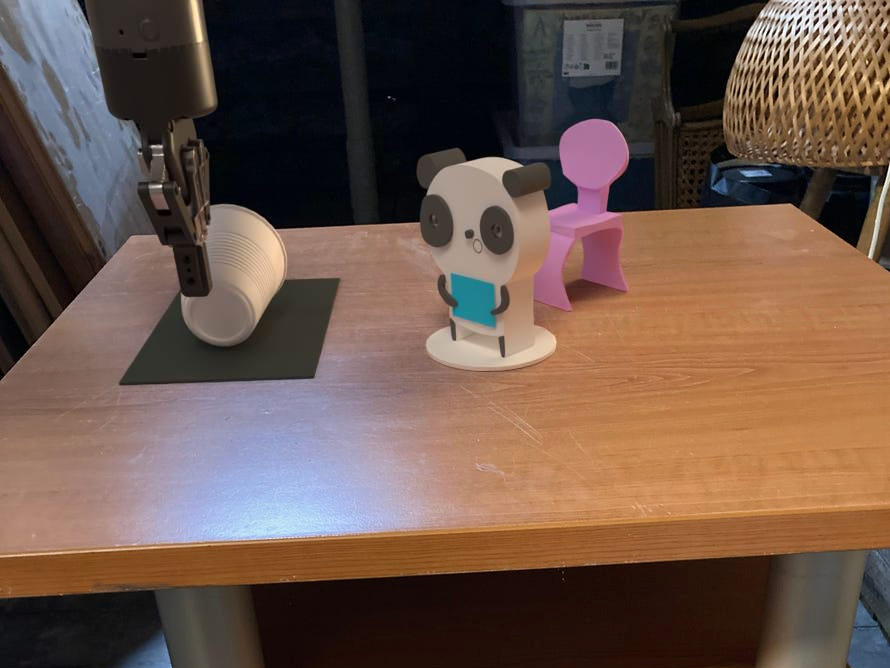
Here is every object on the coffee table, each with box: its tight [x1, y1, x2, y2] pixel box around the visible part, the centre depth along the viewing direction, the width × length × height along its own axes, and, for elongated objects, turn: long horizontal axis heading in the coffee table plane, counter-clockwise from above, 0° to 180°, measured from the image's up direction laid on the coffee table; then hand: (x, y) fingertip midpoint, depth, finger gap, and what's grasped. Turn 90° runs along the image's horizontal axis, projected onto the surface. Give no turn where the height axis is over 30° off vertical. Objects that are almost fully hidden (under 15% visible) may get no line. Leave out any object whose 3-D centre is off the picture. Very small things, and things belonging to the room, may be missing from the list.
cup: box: [181, 203, 288, 347], centre depth 88 cm, size 10×10×11 cm
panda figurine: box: [416, 147, 557, 372], centre depth 82 cm, size 12×11×15 cm
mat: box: [118, 277, 341, 386], centre depth 92 cm, size 26×16×1 cm, turn 2°
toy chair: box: [534, 118, 630, 312], centre depth 93 cm, size 8×9×15 cm
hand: (197, 293), depth 78 cm, fingers closed
